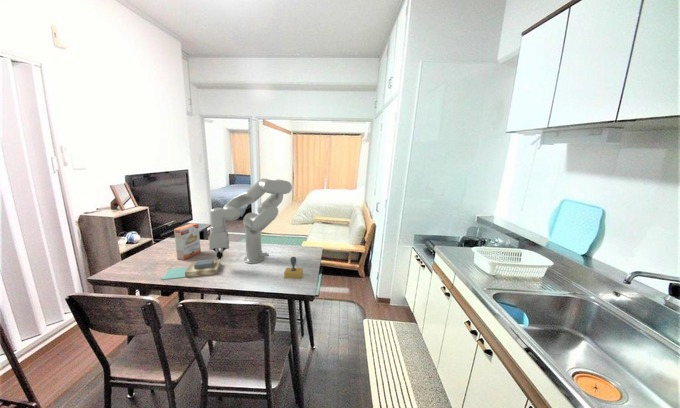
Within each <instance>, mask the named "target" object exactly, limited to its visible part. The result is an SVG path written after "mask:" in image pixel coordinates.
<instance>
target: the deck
mask: <svg viewBox="0 0 680 408" xmlns="http://www.w3.org/2000/svg"><path fill="white" fill-rule="evenodd" d="M195 263H196V261H195V262H191V263H190V264H189V266H187V267H188V269H187V270H186V272H185V277H184V278H190V277H199V276H202V277H203V276H210V275H217V274H218V272H219V270H220V268H221V259H217V260H214V264H213V266H212V267H210V268H200V269H194V264H195Z"/></svg>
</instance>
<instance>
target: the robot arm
mask: <svg viewBox="0 0 680 408" xmlns="http://www.w3.org/2000/svg"><path fill="white" fill-rule="evenodd" d="M292 189H293V185H292V183H291V182H290V181H288V180H283V179H280V178H279V179H276V180H274V179H269V178H268V179H267V178H261V179H259V180H257V181H256V182H254V184H252V186H251V187H249V188H248V189H247V190H246V191H244V192H242V193H240V194H238V195H237V196H235V197H234V198H232V199H231V200H229V201H228V202H227V203H226V204H225V205H224V206H223V207H213V208H212V209H210V211H209V212H210V227H211V228H210V229H211V230H210V232H209V240H208V241H209V242H208V247H209V248H208V249H209V250H211V251H213V252H215V253H216V258H217V260H222V258H223V257H224V251H225V250H229V249H230V238H229V236H230V235H229V232H228V229H229V226H227V225H226V221H236V220H238V219H239V218H240V217H241V211H240V208H242V207H243V206H246V205H249V204H253V203H256V202H257V201H258V200H259V199H260V198H261V197H262V196H264V194H269V196H268V197H267V198H265V200H264V201H262V203H260V204H259V205H258V207H257V213H258V214H257V213H254V212H248V213H246V214H245V216H244V217H243V221H242V223H243V227H244V235H245V237H244V238H245V250H246V251H245V252H246V253H245V254H246V256H245V257H244V258H243V260H244V262H245V263H246V264H258V263H259V264H260V262H262V261H264V260H265V257H270V255H269V254H270V253H268V252H263V250H262V233H261V232H262V231H264V230H265V229H266V228H267V227H268V226H269V225H270V224H271V223H272V222H273V221H274V220H275V219H276V218H277V217H278V215H279V208H278V207H279V206H280V205H281V204H282V202H283V200H284V195H287V194H289V193H290V192H292Z"/></svg>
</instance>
